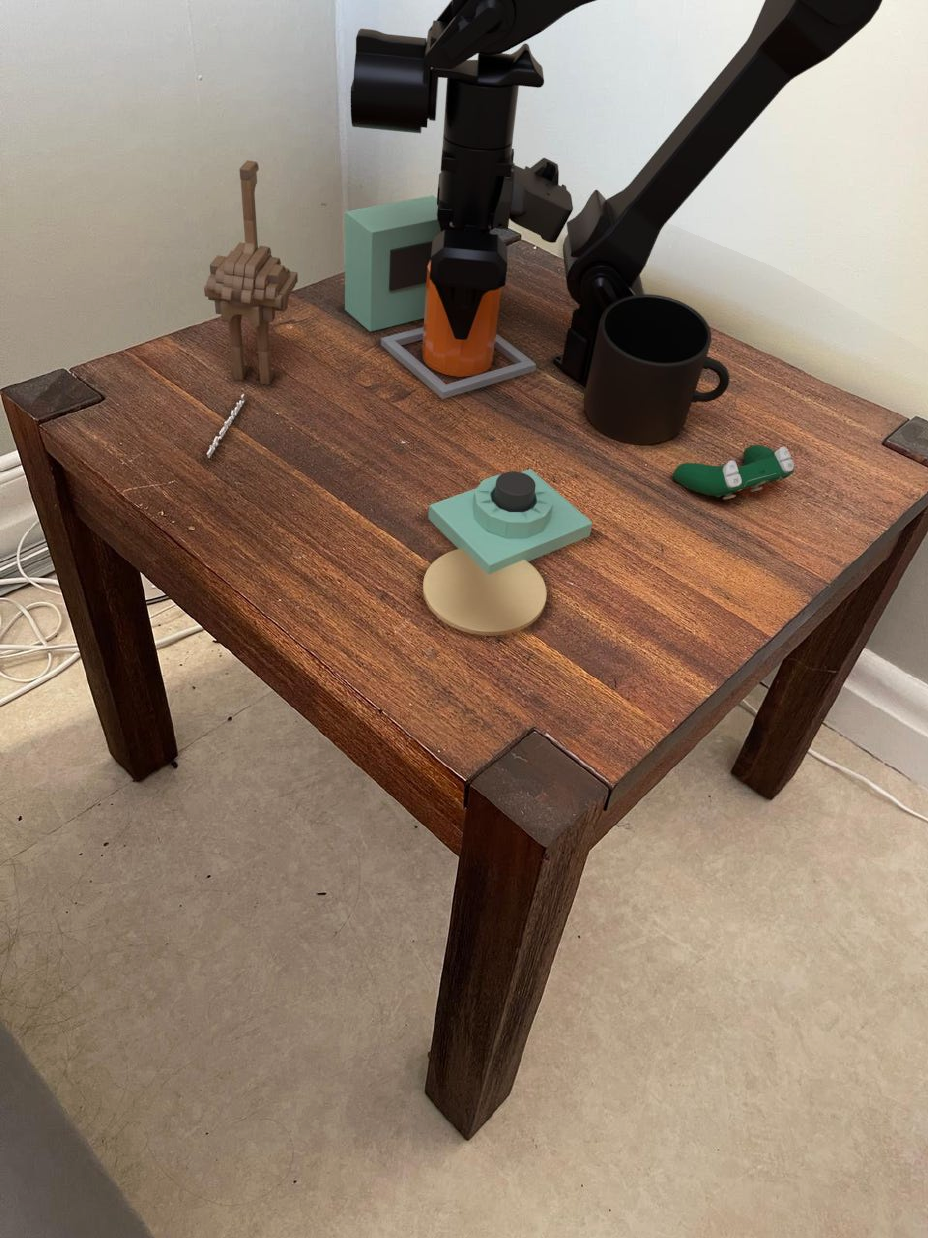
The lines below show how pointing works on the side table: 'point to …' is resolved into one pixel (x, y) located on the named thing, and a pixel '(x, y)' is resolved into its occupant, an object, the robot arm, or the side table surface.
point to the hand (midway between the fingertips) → (461, 314)
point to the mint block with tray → (404, 284)
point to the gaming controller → (737, 472)
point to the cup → (455, 353)
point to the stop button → (514, 491)
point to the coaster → (483, 594)
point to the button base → (508, 524)
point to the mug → (648, 368)
